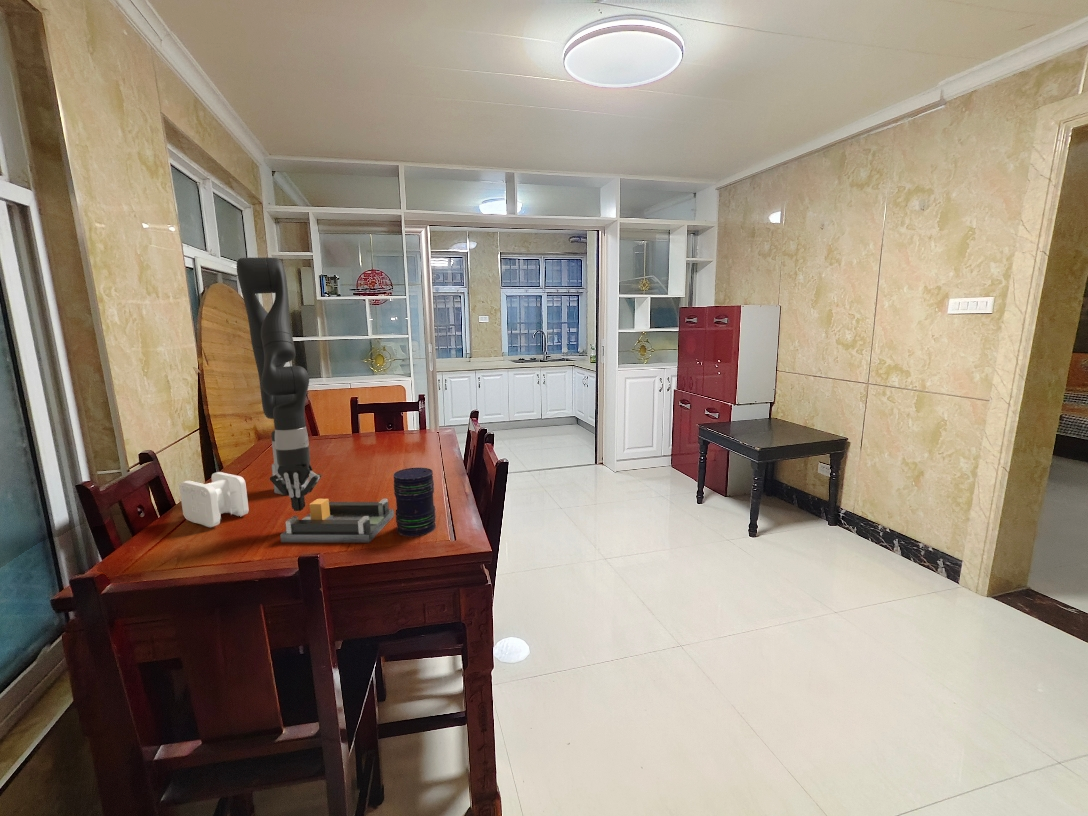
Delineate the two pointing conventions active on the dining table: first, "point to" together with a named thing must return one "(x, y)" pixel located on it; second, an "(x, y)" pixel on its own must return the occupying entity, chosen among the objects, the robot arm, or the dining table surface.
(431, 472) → the dark blue cylinder
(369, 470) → the dining table surface
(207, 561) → the dining table surface
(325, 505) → the toggle
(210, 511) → the cable organizer
